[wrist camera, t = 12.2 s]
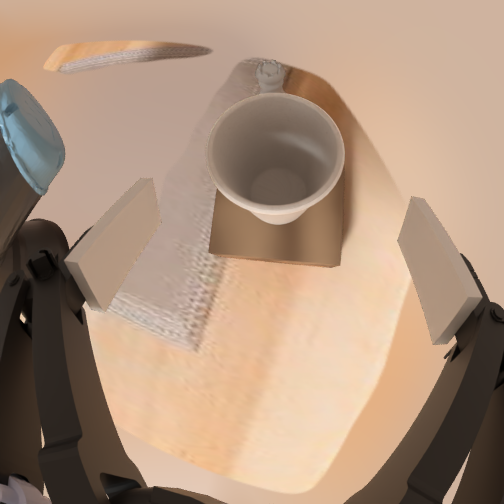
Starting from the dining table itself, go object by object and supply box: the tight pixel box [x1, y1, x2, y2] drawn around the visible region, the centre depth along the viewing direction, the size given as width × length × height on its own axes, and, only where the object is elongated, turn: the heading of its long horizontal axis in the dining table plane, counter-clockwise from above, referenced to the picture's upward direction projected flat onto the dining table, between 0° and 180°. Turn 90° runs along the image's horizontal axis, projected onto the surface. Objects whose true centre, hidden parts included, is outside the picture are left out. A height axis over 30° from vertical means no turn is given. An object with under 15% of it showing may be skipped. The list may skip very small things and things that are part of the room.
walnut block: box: [209, 166, 344, 268], centre depth 27 cm, size 12×12×5 cm
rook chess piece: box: [255, 60, 285, 95], centre depth 27 cm, size 4×4×8 cm
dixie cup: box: [205, 93, 345, 225], centre depth 20 cm, size 8×8×10 cm
